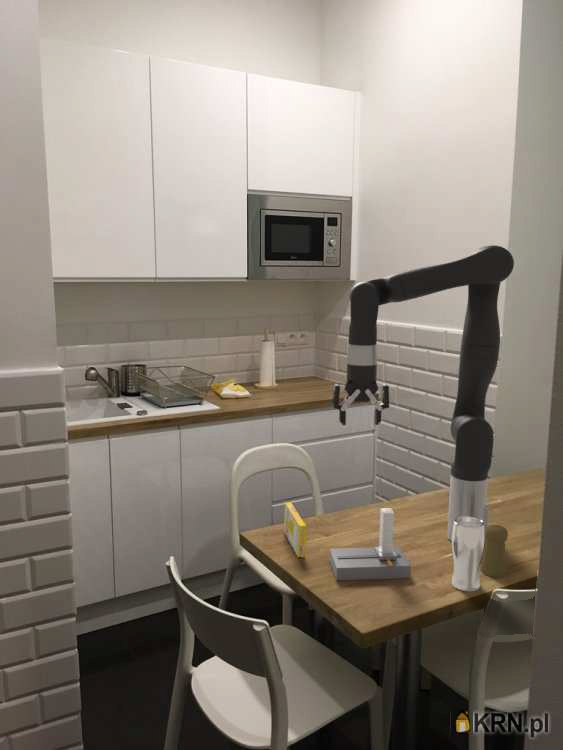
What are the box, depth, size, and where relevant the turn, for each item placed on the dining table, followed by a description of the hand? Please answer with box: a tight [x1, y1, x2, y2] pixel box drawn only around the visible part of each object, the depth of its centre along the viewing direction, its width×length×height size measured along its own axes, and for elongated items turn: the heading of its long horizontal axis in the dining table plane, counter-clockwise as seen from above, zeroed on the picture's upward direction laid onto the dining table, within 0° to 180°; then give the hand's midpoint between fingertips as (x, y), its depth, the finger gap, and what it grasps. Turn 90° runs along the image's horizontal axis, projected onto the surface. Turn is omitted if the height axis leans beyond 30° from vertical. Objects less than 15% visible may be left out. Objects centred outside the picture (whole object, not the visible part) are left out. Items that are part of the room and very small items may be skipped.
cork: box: [479, 524, 509, 578], centre depth 148 cm, size 6×6×11 cm
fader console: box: [328, 546, 412, 581], centre depth 150 cm, size 17×10×3 cm, turn 95°
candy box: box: [283, 502, 307, 558], centre depth 163 cm, size 16×2×8 cm, turn 12°
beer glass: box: [451, 516, 486, 593], centre depth 141 cm, size 7×7×15 cm
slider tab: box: [374, 507, 397, 560], centre depth 149 cm, size 4×5×11 cm
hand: (360, 424), depth 164 cm, fingers open, 8 cm apart
